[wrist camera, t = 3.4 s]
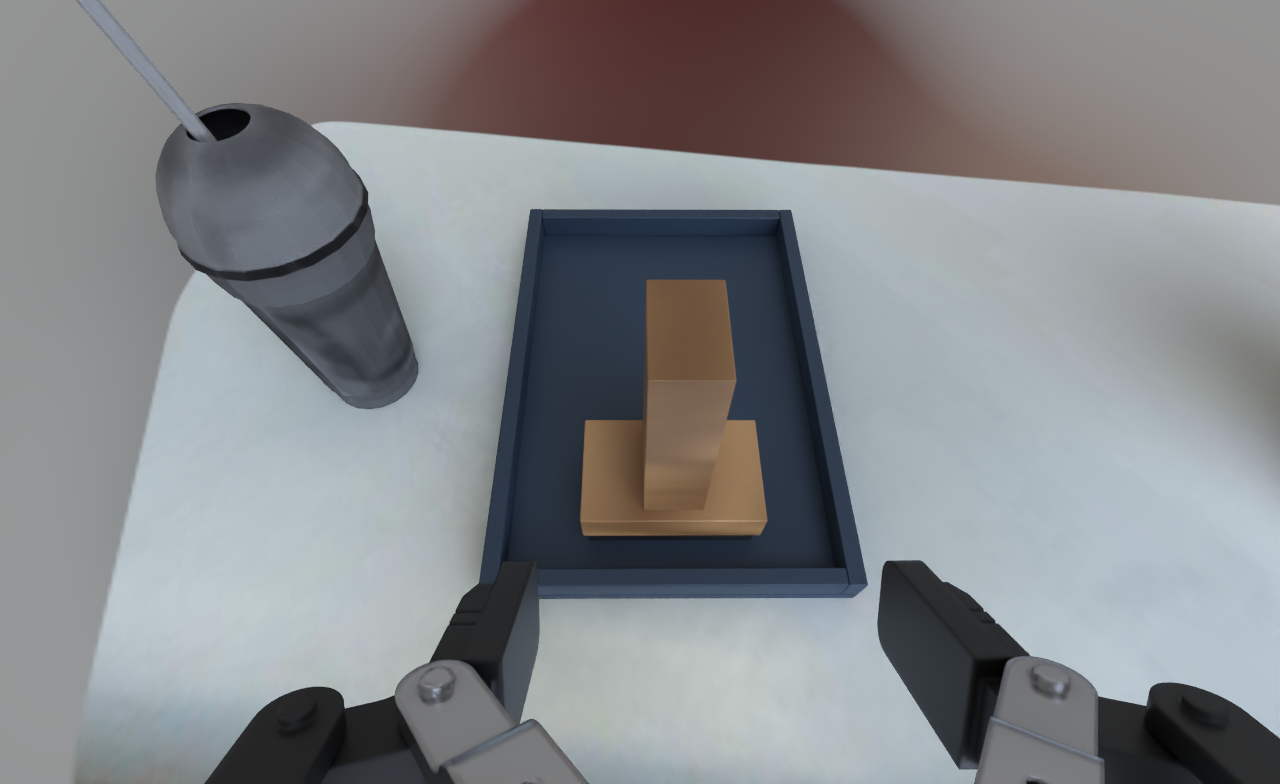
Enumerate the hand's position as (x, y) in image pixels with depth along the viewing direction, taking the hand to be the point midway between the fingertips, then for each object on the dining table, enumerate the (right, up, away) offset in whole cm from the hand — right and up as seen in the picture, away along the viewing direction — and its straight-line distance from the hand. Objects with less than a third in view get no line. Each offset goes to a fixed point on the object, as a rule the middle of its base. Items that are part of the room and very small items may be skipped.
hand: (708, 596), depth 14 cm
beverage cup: (-16, +6, +20) cm, 27 cm away
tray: (0, +5, +20) cm, 21 cm away
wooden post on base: (0, 0, +16) cm, 16 cm away
